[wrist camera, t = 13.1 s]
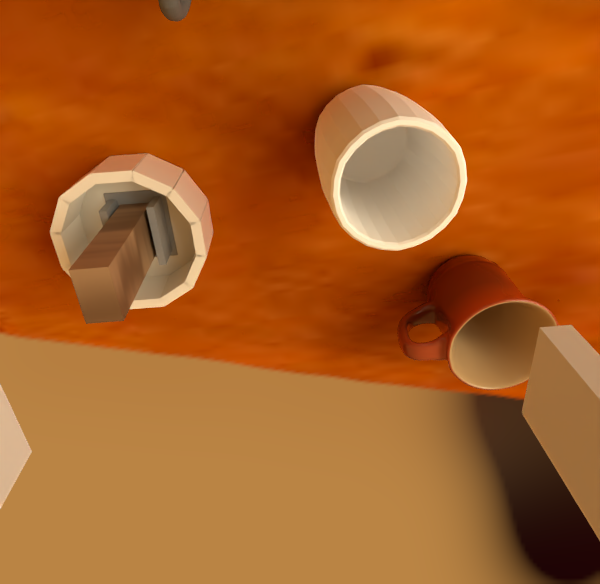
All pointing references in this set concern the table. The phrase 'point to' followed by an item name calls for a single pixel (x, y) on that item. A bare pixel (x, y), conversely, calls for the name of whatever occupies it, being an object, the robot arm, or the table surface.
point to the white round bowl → (161, 213)
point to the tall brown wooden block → (114, 265)
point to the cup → (387, 168)
